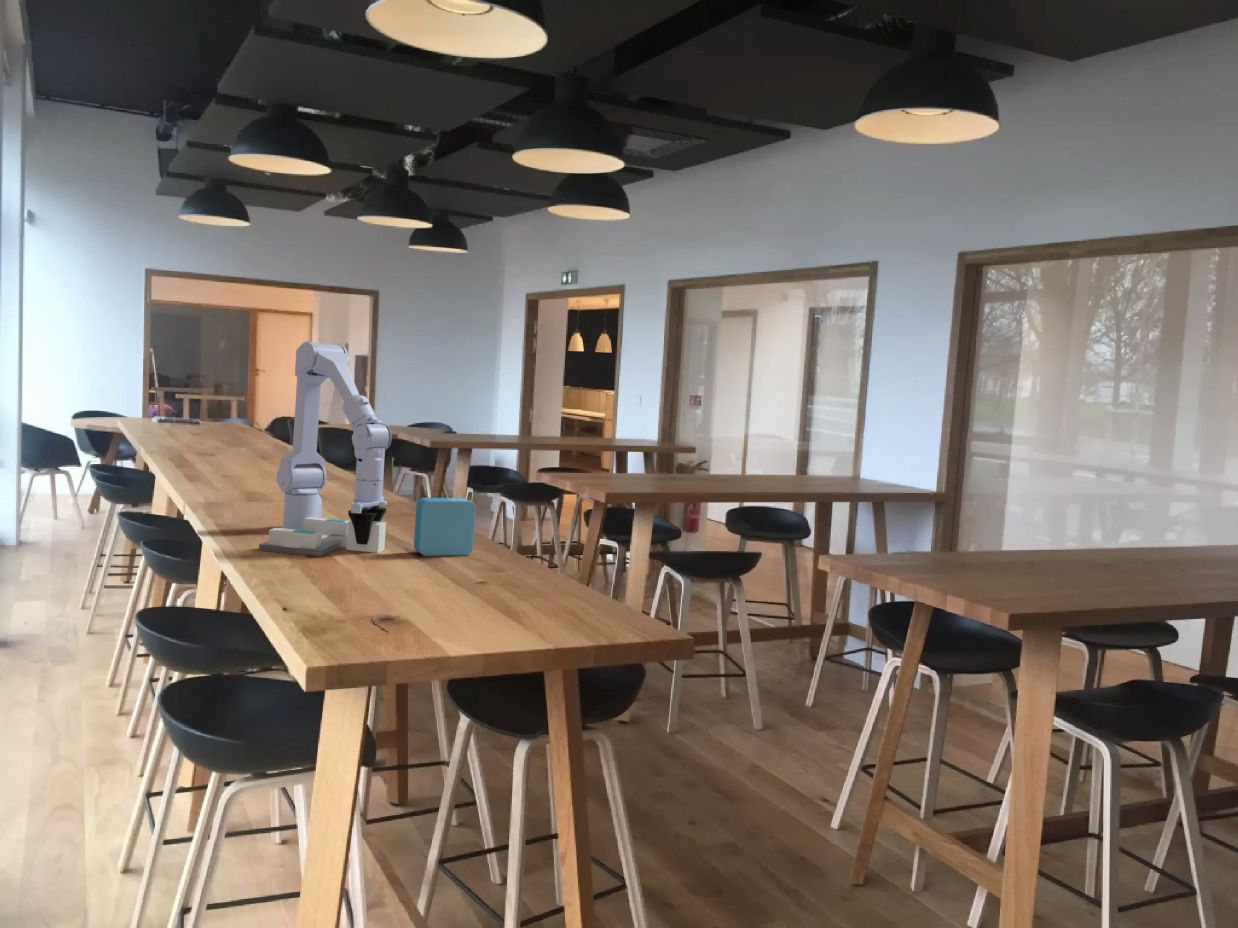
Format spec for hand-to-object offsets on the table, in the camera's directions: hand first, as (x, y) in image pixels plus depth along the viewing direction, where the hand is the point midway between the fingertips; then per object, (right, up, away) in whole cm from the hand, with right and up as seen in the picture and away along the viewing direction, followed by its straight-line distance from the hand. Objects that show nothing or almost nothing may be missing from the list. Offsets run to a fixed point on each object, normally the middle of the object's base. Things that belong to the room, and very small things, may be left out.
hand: (365, 542), depth 207 cm
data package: (+16, -3, +3) cm, 17 cm away
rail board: (-12, -1, +1) cm, 12 cm away
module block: (0, -2, 0) cm, 2 cm away
